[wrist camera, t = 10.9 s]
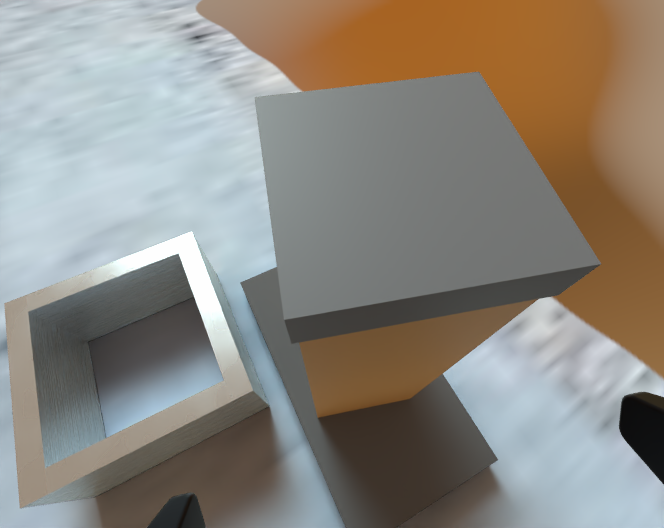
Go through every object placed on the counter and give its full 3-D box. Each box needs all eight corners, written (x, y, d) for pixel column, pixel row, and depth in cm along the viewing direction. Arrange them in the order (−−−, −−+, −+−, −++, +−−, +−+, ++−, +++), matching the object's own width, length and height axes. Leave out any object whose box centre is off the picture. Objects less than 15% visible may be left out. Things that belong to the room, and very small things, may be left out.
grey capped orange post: (412, 400, 15) (600, 264, 5) (315, 420, 15) (284, 319, 4) (387, 309, 17) (479, 71, 7) (300, 325, 17) (254, 97, 6)
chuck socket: (269, 406, 16) (253, 390, 13) (94, 497, 14) (20, 508, 11) (216, 273, 19) (191, 231, 16) (68, 334, 18) (4, 303, 14)
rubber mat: (486, 459, 15) (498, 459, 14) (354, 546, 14) (357, 553, 13) (351, 246, 20) (352, 234, 19) (245, 292, 19) (240, 282, 18)
